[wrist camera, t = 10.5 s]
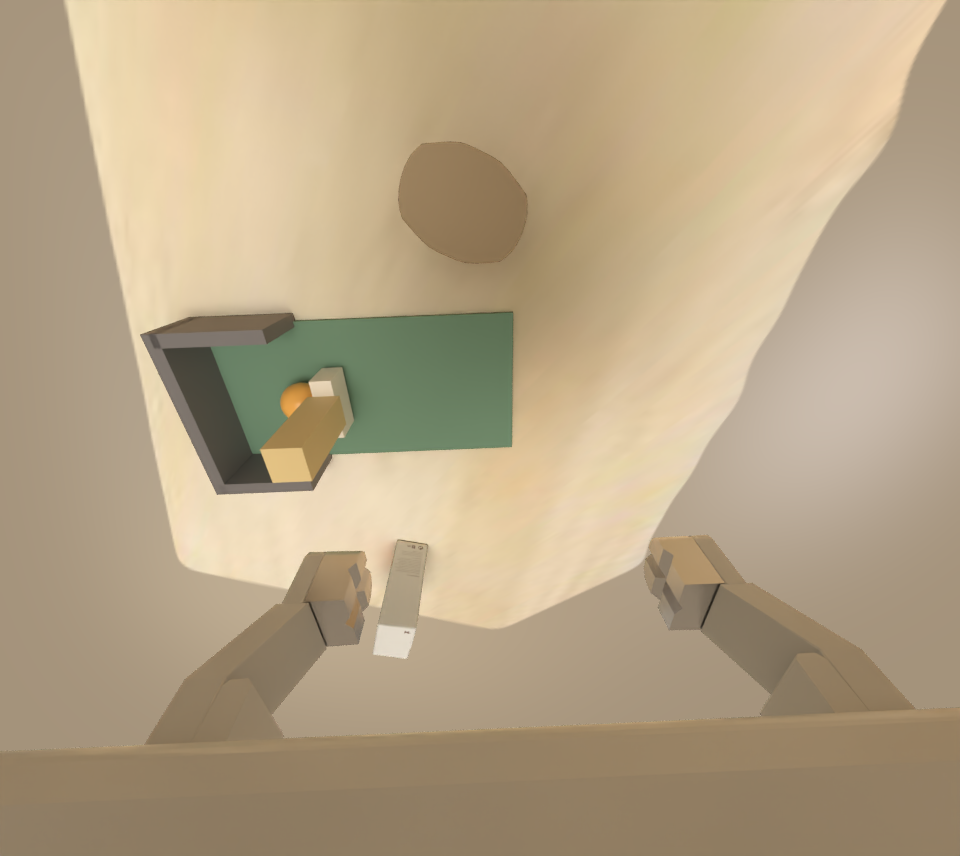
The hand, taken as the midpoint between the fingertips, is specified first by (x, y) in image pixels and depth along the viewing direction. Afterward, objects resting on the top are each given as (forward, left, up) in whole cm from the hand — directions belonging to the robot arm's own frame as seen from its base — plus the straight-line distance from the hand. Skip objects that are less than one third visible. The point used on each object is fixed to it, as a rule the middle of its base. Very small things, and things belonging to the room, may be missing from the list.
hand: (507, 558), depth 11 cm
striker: (+7, -15, -29) cm, 33 cm away
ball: (+7, -18, -27) cm, 33 cm away
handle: (-9, -1, -29) cm, 31 cm away
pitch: (+7, -12, -29) cm, 32 cm away
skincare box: (+32, -11, -29) cm, 45 cm away
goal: (+7, -22, -29) cm, 37 cm away
